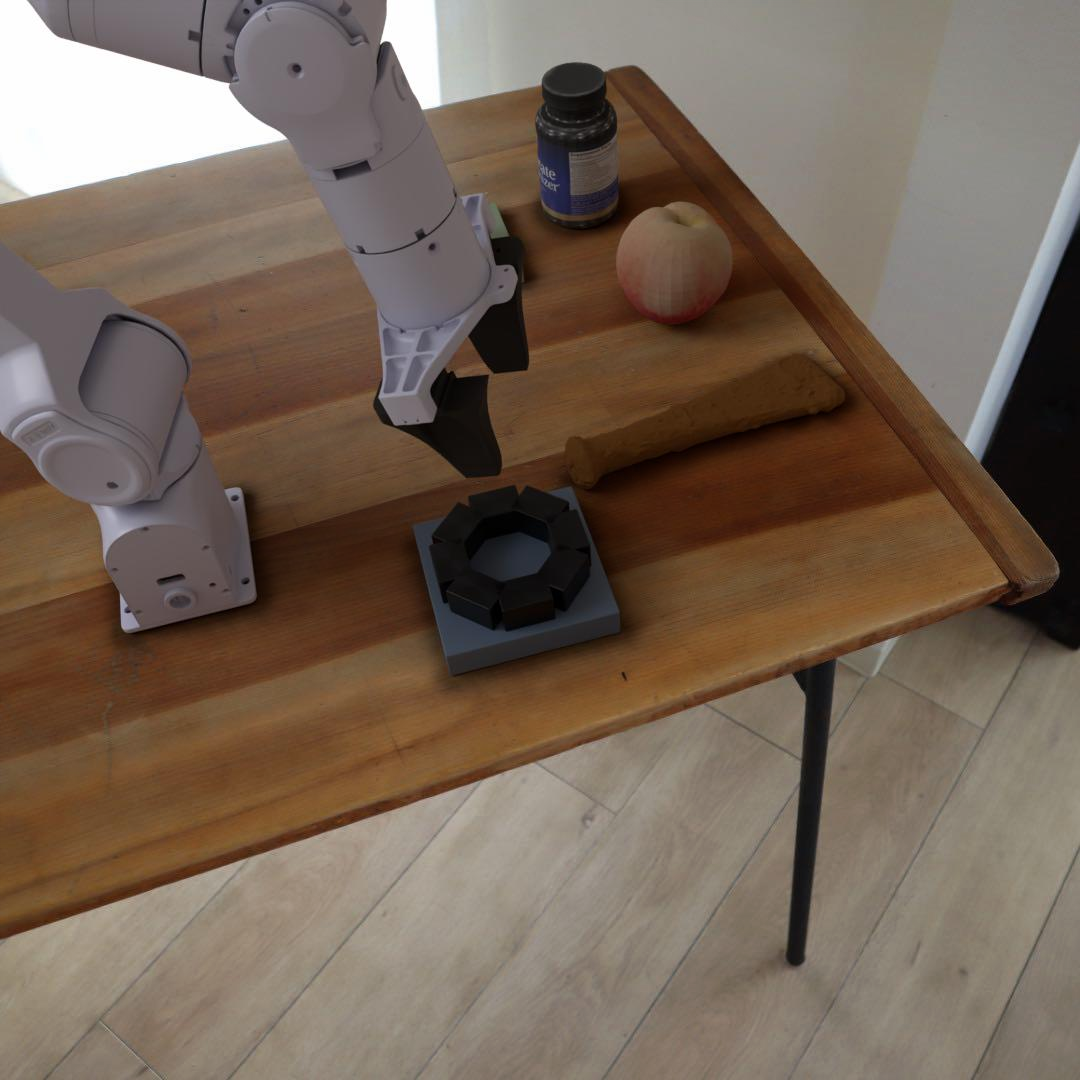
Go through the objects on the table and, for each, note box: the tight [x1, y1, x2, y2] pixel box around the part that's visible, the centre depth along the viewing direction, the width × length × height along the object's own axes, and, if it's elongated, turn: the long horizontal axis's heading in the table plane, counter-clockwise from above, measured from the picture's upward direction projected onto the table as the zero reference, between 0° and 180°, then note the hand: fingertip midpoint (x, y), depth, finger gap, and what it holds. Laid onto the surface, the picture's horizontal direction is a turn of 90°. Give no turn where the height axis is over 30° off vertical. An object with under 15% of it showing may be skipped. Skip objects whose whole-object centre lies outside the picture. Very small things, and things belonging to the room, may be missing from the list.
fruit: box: [615, 200, 734, 326], centre depth 82 cm, size 8×8×8 cm
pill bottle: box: [534, 61, 620, 229], centre depth 89 cm, size 6×6×11 cm
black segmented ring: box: [429, 484, 591, 632], centre depth 67 cm, size 9×9×2 cm
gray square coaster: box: [412, 485, 621, 677], centre depth 69 cm, size 10×10×2 cm
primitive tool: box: [564, 353, 846, 490], centre depth 75 cm, size 19×6×4 cm, turn 119°
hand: (498, 418), depth 64 cm, fingers open, 7 cm apart
